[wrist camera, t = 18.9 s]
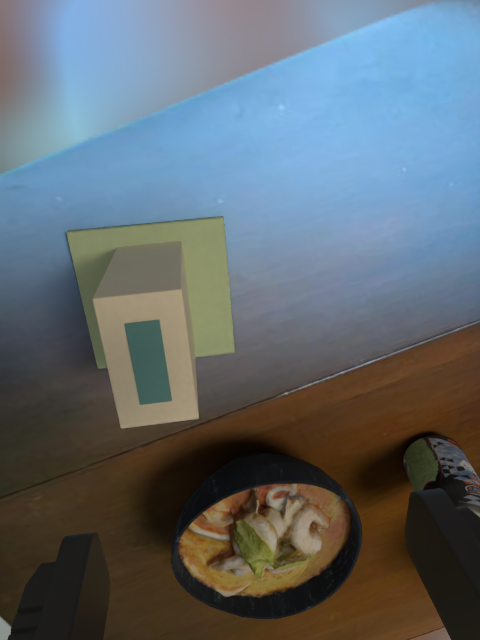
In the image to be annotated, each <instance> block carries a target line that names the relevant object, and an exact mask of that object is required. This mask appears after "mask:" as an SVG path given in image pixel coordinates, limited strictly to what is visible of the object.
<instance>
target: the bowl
mask: <svg viewBox="0 0 480 640" xmlns="http://www.w3.org/2000/svg"><path fill="white" fill-rule="evenodd" d="M361 543H362V527H361V522H360V518H359V515H358V513H357V511H356V508H355V506H354V504H353V502H352V501H351V499H350V498H349V496H348V495H347V494H346V492H345V491H344V489H343V488H342V487H341V486H340V485H339V484H338V483H337V482H336V481H335V480H333V479H332V478H331V477H330V476H328V475H327V474H326V473H325V472H323V471H322V470H321V469H320V468H318V467H316V466H314V465H312V464H310V463H308V462H305V461H302V460H299V459H296V458H293V457H290V456H285V455H276V454H274V453H269V452H251V453H246V454H243V455H240V456H238V457H236V458H234V459H232V460H231V461H229V462H228V463H227V464H225V465H224V466H222V467H221V468H220V469H218V470H217V471H216V472H214V473H213V474H212V475H210V476H209V477H208V478H206V479H205V480H204V481H203V482H202V483H201V484H200V485H199V487H198V488H197V489H196V490H195V491H194V493H193V494H192V495H191V496H190V498H189V499H188V500H187V502H186V504H185V506H184V508H183V510H182V512H181V514H180V517H179V519H178V522H177V524H176V527H175V531H174V535H173V540H172V554H171V564H172V569H173V572H174V575H175V577H176V579H177V580H178V582H179V583H180V585H181V586H182V587H183V588H184V589H185V590H186V591H187V592H188V593H190V594H191V595H192V596H193V597H195V598H196V599H198V600H199V601H201V602H203V603H205V604H207V605H209V606H211V607H213V608H216V609H218V610H221V611H224V612H227V613H231V614H234V615H237V616H241V617H247V618H256V619H278V618H282V617H287V616H291V615H295V614H298V613H301V612H303V611H306V610H308V609H310V608H312V607H314V606H316V605H318V604H320V603H322V602H323V601H325V600H326V599H327V598H329V597H330V596H331V595H332V594H334V593H335V592H336V591H337V590H338V589H339V588H340V587H341V586H342V584H343V583H344V582H345V581H346V579H347V578H348V576H349V575H350V573H351V572H352V570H353V568H354V566H355V563H356V561H357V558H358V555H359V552H360V548H361Z"/></svg>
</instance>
